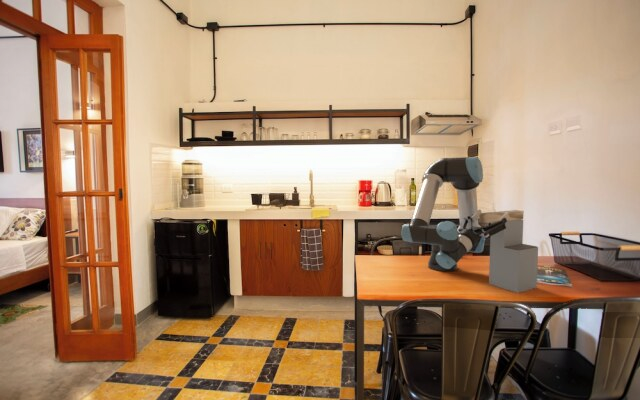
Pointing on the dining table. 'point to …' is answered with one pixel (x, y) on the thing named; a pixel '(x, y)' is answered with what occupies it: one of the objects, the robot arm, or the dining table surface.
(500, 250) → the stand
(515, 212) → the ash rod
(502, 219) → the robot arm
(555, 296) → the dining table surface
